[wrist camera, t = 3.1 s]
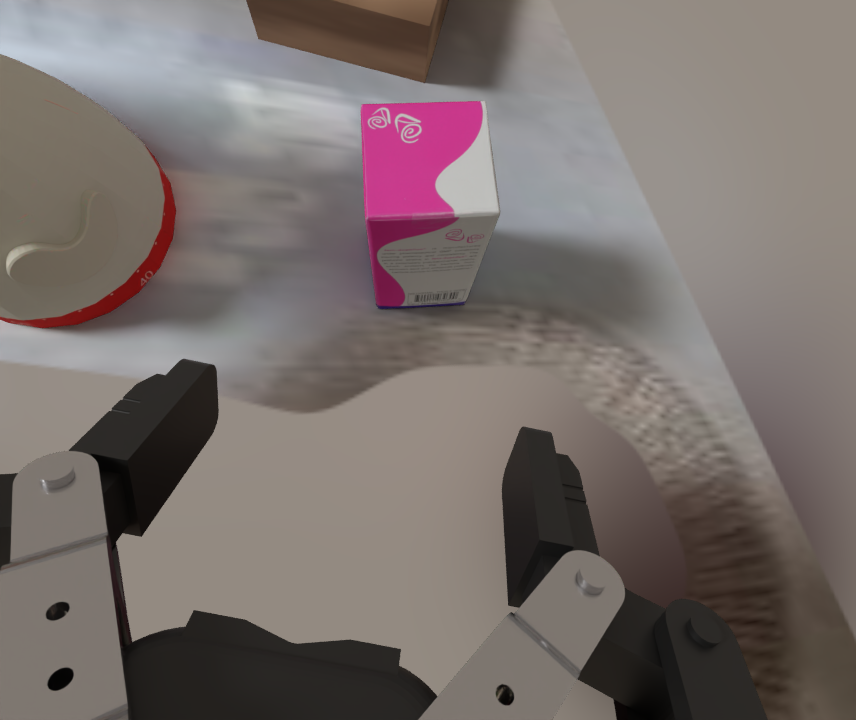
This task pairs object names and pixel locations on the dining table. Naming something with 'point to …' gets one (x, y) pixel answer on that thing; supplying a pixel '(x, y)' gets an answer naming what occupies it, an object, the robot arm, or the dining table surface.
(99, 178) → the kitchen timer
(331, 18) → the walnut block
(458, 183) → the supplement box
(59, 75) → the dining table surface
